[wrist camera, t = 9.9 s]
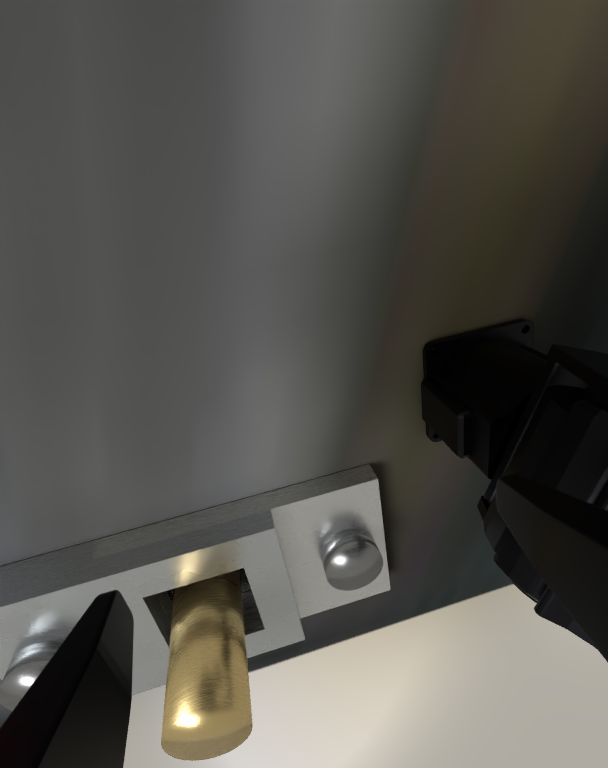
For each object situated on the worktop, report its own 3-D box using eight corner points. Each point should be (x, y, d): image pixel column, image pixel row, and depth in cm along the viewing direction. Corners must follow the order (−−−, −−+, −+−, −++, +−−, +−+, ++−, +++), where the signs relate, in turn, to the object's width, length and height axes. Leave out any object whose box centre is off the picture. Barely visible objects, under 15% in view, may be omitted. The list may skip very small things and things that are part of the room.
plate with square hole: (369, 463, 26) (398, 514, 22) (382, 572, 30) (409, 630, 26) (-21, 572, 23) (-69, 652, 19) (57, 673, 28) (32, 754, 24)
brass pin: (231, 540, 26) (241, 696, 18) (245, 582, 28) (260, 741, 20) (167, 558, 25) (148, 727, 17) (186, 600, 27) (177, 770, 19)
